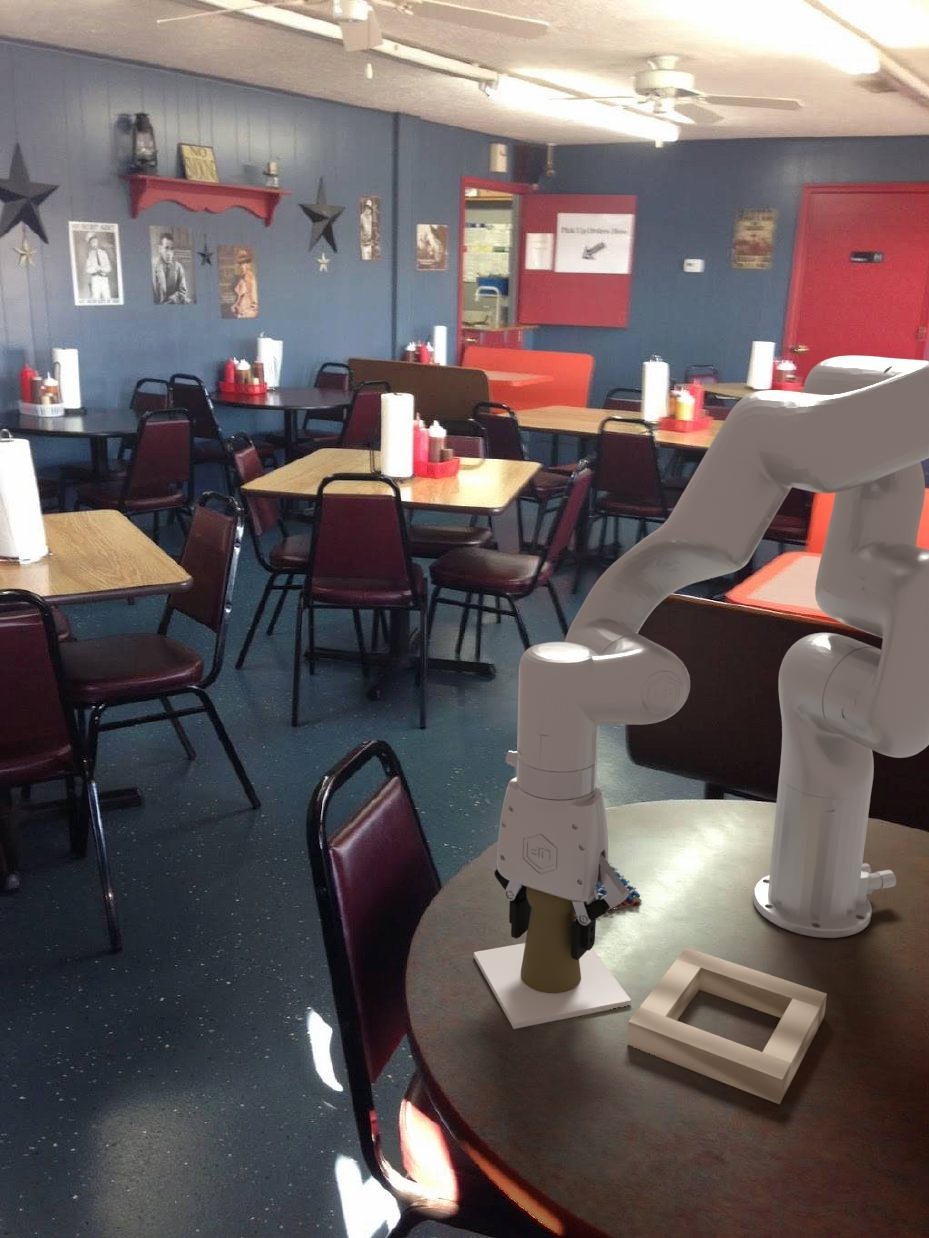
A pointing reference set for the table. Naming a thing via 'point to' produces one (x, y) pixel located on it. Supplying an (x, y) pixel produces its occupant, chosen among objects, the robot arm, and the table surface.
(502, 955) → the ceramic tile
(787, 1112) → the table surface
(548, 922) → the cork
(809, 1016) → the wooden holder
